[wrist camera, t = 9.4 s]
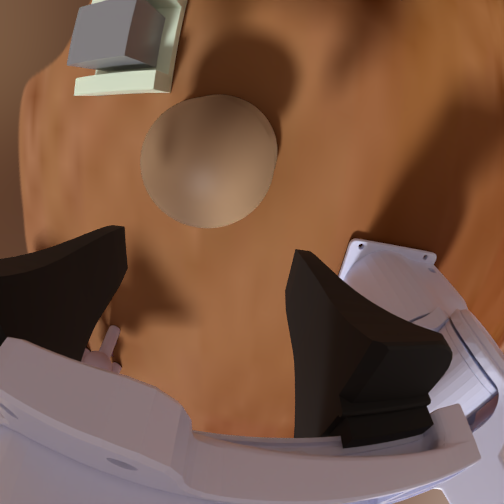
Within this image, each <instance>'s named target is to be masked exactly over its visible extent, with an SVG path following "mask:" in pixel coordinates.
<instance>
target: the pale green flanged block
mask: <svg viewBox="0 0 504 504" xmlns="http://www.w3.org/2000/svg"><path fill="white" fill-rule="evenodd" d="M102 1H106V0H93V1H92V4H94V3H98V2H102ZM146 1H147V2H148V3H149V4H151V5H152V6H153V7H154V8H155V9H156V10H157V11H158V12H159V13H161V14H162V15H163V16H164V17H165V23H164V27H163V32H162V37H161V42H160V48H159V53H158V59H157V65H156V68H139V69H126V70H116V71H101V70H96V74H95V75H93V76H87V77H81V78H76V83H75V92H74V96H102V95H114V94H130V93H171V85H172V78H173V72H174V65H175V59H176V53H177V48H178V42H179V37H180V32H181V27H182V22H183V18H184V13H185V9H186V5H187V0H146Z"/></svg>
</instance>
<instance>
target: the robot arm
mask: <svg viewBox="0 0 504 504" xmlns="http://www.w3.org/2000/svg"><path fill="white" fill-rule="evenodd" d="M360 244H363V245H362V246H361V247H358V246H359V245H360ZM424 256H425V257H424ZM423 257H424V258H423ZM436 258H437V256H436V254H435V253H433V252H429V251H424V250H418V249H413V248H408V247H402V246H397V245H392V244H386V243H380V242H375V241H369V240H363V239H357V238H354V239H352V240H351V241H350V242H349V245H348V248H347V251H346V255H345V258H344V261H343V264H342V267H341V270H340V273H339V275H338V276H337V275H336V274H335V273H334V272H333V271H332V270H331V269H330V268H328V267H327V266H326V265H325V264H324V263H323V262H322V261H321V260H320V259H319V258H318V257H317V256H315V255H314V254H313V253H312V252H310V251H304V250H297V249H295V254H294V258H293V262H292V266H291V270H290V274H289V278H288V282H287V286H286V290H285V299H286V314H287V320H288V326H289V331H290V337H291V343H292V349H293V355H294V367H295V430H294V438H263V437H246V436H234V435H224V434H216V433H208V432H201V431H195V430H192V421H191V419H190V417H189V416H188V414H187V413H186V411H185V410H184V408H183V407H182V405H181V404H180V403H179V402H178V401H177V400H175V399H174V398H172V397H170V396H169V395H167V394H166V393H164V392H163V391H161V390H160V389H158V388H157V387H155V386H153V385H150V384H147V383H144V382H142V381H139V380H137V379H134V378H131V377H129V376H126V375H122V374H119V373H115V372H112V371H108V370H105V369H101V368H98V367H95V366H92V365H89V364H86V363H83V362H81V360H82V357H83V354H84V351H85V348H86V346H87V343H88V341H89V338H90V336H91V334H92V331H93V329H94V327H95V325H96V323H97V322H98V320H99V318H100V317H101V315H102V313H103V312H104V310H105V308H106V307H107V305H108V304H109V302H110V301H111V299H112V297H113V296H114V294H115V293H116V291H117V289H118V288H119V286H120V284H121V282H122V280H123V278H124V275H125V273H126V271H127V269H128V266H127V255H126V243H125V228H124V227H123V226H115V225H111V226H106V227H103V228H100V229H97V230H95V231H92V232H89V233H87V234H84V235H82V236H79V237H77V238H74V239H72V240H69V241H66V242H64V243H61V244H59V245H56V246H53V247H50V248H47V249H44V250H40V251H37V252H33V253H29V254H25V255H20V256H16V257H11V258H4V259H0V504H393V503H396V502H399V501H402V500H405V499H407V498H410V497H413V496H416V495H418V494H421V493H423V492H426V491H428V490H431V489H433V488H434V489H440V490H442V491H443V493H444V494H445V496H446V498H447V500H448V502H449V503H450V504H504V354H503V353H502V351H501V350H500V348H499V347H498V345H497V344H496V342H495V341H494V340H493V338H492V337H491V336H490V334H489V333H488V332H487V330H486V329H485V328H484V327H483V325H482V324H481V323H480V322H479V321H478V319H477V318H476V317H475V316H474V315H473V314H472V313H471V312H470V311H469V310H468V308H467V305H466V303H465V301H464V299H463V298H462V297H461V295H460V294H459V293H458V292H457V291H456V289H455V288H454V287H453V286H452V285H451V284H450V282H449V281H448V280H447V279H446V278H445V277H444V276H443V274H442V273H441V272H440V271H439V270H438V269H437V268H436V267H435V266H434V263H435V261H436Z"/></svg>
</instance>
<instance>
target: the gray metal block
mask: <svg viewBox="0 0 504 504" xmlns="http://www.w3.org/2000/svg"><path fill="white" fill-rule="evenodd" d="M164 23H165V17H164V16H163V15H162V14H161V13H159V12H158V11H157V10H156V9H155V8H154V7H153V6H152V5H151V4H149V3H148V2H147V1H146V0H106V1H102V2H98V3H94V4H90V5H87V6H83V7H80V8H79V12H78V16H77V19H76V24H75V27H74V31H73V36H72V40H71V45H70V50H69V56H68V61H67V65H68V66H76V67H83V68H89V69H95V70H101V71H116V70H126V69H139V68H156V65H157V59H158V53H159V48H160V42H161V37H162V32H163V27H164Z"/></svg>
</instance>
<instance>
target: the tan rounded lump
mask: <svg viewBox="0 0 504 504" xmlns="http://www.w3.org/2000/svg"><path fill="white" fill-rule="evenodd" d="M276 161H277V142H276V137H275V134H274V131H273V128H272V126H271V124H270V123H269V121H268V120H267V118H266V117H265V116H264V114H263V113H262V112H261V111H260V110H259V109H257V108H256V107H255V106H254V105H252V104H251V103H249V102H247V101H245V100H243V99H241V98H238V97H234V96H229V95H208V96H204V97H199V98H192V99H189V100H185V101H183V102H180V103H178V104H176V105H174V106H172V107H171V108H169V109H168V110H167V111H165V112H164V113H163V114H162V115H161V116H160V117H159V118H158V119H157V120H156V121H155V122H154V124H153V125H152V126H151V128H150V129H149V131H148V133H147V135H146V137H145V140H144V142H143V146H142V150H141V158H140V166H141V174H142V179H143V182H144V185H145V187H146V190H147V192H148V194H149V195H150V197H151V199H152V200H153V201H154V203H155V204H156V205H157V206H158V207H159V208H160V209H161V210H162V211H163V212H164V213H165V214H167V215H168V216H169V217H171V218H173V219H174V220H176V221H178V222H180V223H183V224H186V225H189V226H193V227H198V228H217V227H223V226H226V225H229V224H232V223H235V222H237V221H239V220H241V219H242V218H244V217H246V216H247V215H248V214H250V213H251V212H252V211H253V210H254V209H255V208H256V207H257V206H258V205H259V204H260V202H261V201H262V200H263V198H264V197H265V195H266V193H267V191H268V189H269V187H270V184H271V181H272V177H273V172H274V169H275V165H276Z"/></svg>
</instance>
